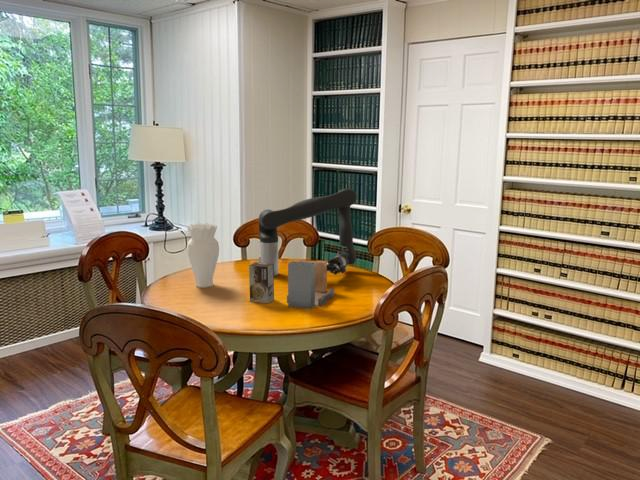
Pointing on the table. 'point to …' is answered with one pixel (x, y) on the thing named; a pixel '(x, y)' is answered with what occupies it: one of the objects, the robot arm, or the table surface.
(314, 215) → the robot arm
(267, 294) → the coffee box
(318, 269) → the copper bar
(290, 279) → the grey metal bracket
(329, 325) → the table surface
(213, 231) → the vase
